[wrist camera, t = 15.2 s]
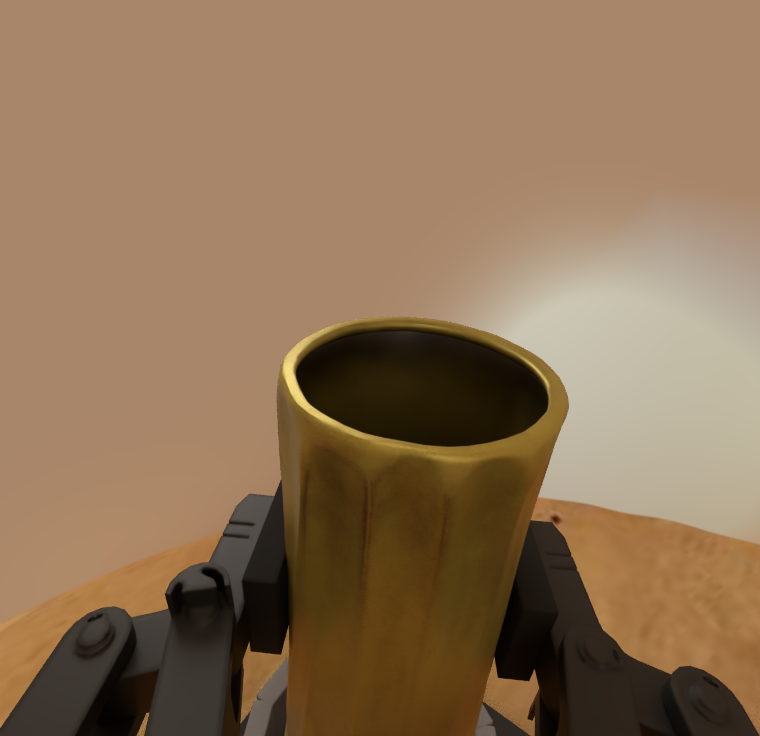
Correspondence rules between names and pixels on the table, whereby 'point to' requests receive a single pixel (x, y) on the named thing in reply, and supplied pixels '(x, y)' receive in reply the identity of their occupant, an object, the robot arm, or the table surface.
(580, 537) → the table surface
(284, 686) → the socket pad
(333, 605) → the vase
